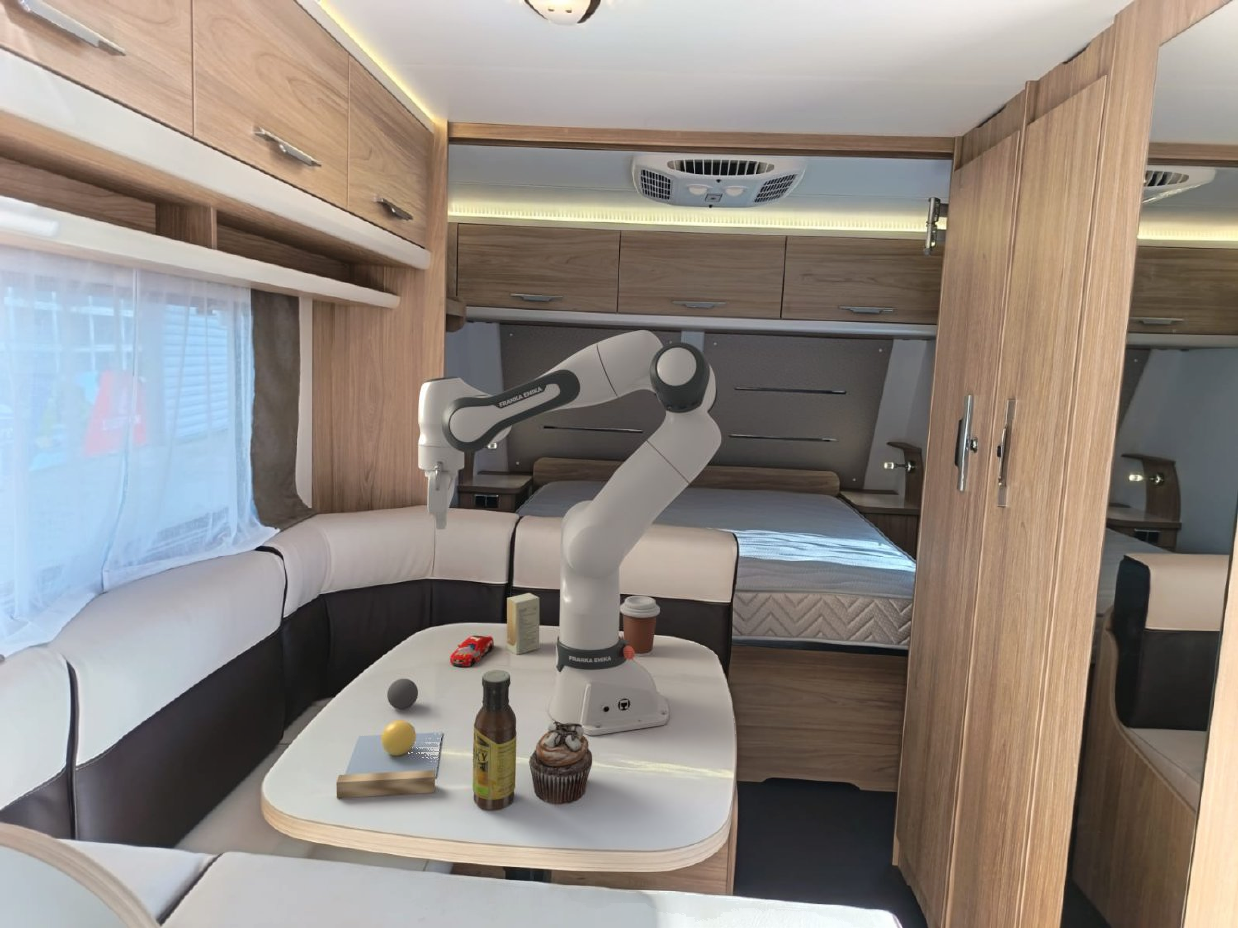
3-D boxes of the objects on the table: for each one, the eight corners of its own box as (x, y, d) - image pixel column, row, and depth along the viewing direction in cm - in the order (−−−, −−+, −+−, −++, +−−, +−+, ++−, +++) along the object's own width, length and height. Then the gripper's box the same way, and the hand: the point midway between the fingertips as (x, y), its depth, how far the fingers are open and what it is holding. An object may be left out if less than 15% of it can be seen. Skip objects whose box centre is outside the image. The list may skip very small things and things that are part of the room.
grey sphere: (412, 682, 136) (415, 712, 137) (419, 672, 142) (422, 701, 142) (381, 685, 136) (385, 715, 136) (390, 676, 142) (393, 704, 142)
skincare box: (529, 643, 173) (530, 591, 171) (540, 649, 170) (541, 596, 168) (505, 649, 169) (506, 596, 167) (515, 655, 166) (516, 602, 164)
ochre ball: (414, 749, 120) (416, 757, 125) (415, 714, 123) (417, 723, 128) (378, 752, 119) (382, 760, 124) (380, 717, 122) (383, 726, 127)
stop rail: (434, 784, 115) (434, 769, 115) (433, 792, 113) (433, 777, 113) (339, 790, 113) (339, 774, 113) (336, 797, 111) (336, 782, 111)
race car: (467, 671, 157) (467, 653, 157) (445, 666, 159) (445, 649, 159) (498, 648, 170) (498, 631, 169) (477, 645, 172) (477, 628, 171)
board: (442, 733, 131) (442, 732, 131) (435, 777, 117) (435, 776, 117) (359, 737, 128) (358, 735, 128) (342, 782, 115) (342, 781, 115)
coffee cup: (615, 644, 174) (616, 594, 172) (653, 642, 176) (655, 593, 174) (622, 659, 165) (624, 607, 164) (662, 658, 167) (664, 606, 165)
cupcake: (529, 772, 120) (531, 713, 118) (590, 772, 120) (592, 713, 119) (526, 808, 110) (527, 744, 109) (592, 807, 111) (594, 744, 109)
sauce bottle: (468, 793, 113) (469, 668, 110) (508, 785, 116) (510, 662, 113) (478, 817, 108) (479, 685, 105) (520, 808, 110) (522, 679, 107)
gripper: (454, 467, 138) (454, 540, 140) (460, 452, 158) (460, 517, 160) (419, 466, 137) (419, 540, 139) (429, 452, 157) (429, 516, 159)
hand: (441, 527), depth 149 cm, fingers closed
